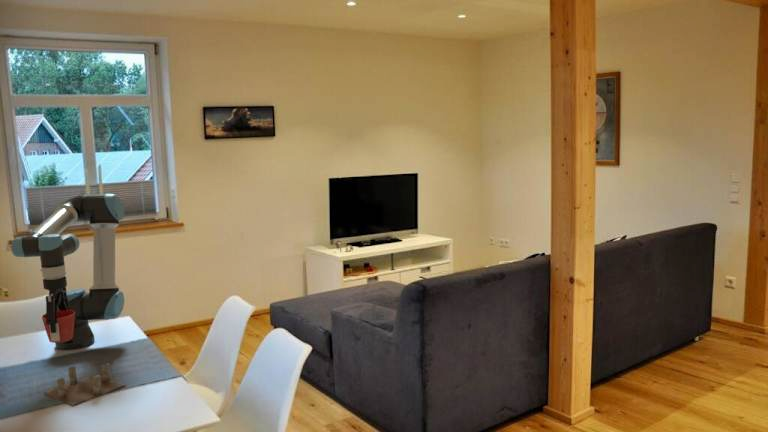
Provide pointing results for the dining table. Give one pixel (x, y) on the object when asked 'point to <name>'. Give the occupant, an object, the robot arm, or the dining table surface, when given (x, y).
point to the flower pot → (62, 325)
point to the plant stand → (84, 387)
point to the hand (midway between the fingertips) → (60, 335)
